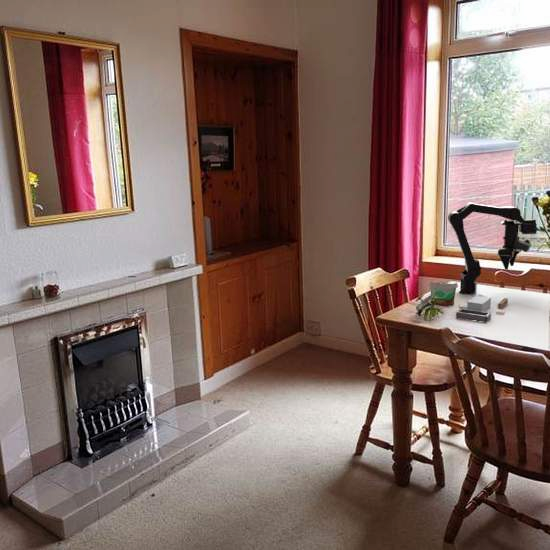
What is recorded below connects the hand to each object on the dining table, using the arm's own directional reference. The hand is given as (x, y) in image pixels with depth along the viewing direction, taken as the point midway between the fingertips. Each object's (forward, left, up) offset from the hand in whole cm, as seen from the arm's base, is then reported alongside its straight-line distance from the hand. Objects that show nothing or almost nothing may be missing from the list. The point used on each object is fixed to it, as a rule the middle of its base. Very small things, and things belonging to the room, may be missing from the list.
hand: (509, 267), depth 259 cm
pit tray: (-2, -49, -12) cm, 50 cm away
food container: (-19, -36, -12) cm, 42 cm away
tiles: (-2, -36, -12) cm, 38 cm away
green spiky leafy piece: (-18, -56, -13) cm, 60 cm away
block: (-3, -36, -13) cm, 38 cm away
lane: (-2, -23, -12) cm, 26 cm away
